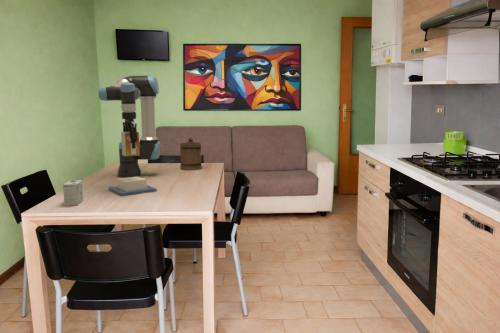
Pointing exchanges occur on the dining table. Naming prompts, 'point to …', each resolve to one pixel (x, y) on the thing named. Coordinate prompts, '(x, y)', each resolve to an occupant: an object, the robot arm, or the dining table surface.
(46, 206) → the dining table surface
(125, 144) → the small box
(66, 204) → the light bulb box
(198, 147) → the wooden container
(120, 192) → the build board
